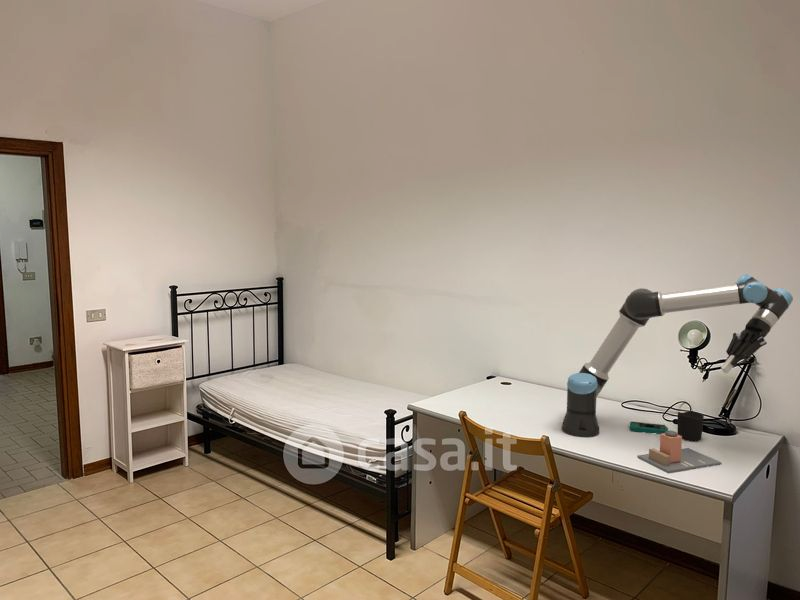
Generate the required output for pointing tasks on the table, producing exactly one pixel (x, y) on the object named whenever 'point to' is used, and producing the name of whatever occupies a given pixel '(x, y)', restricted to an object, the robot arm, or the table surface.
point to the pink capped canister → (671, 445)
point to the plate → (688, 461)
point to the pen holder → (690, 425)
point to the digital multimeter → (647, 427)
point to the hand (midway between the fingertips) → (724, 370)
